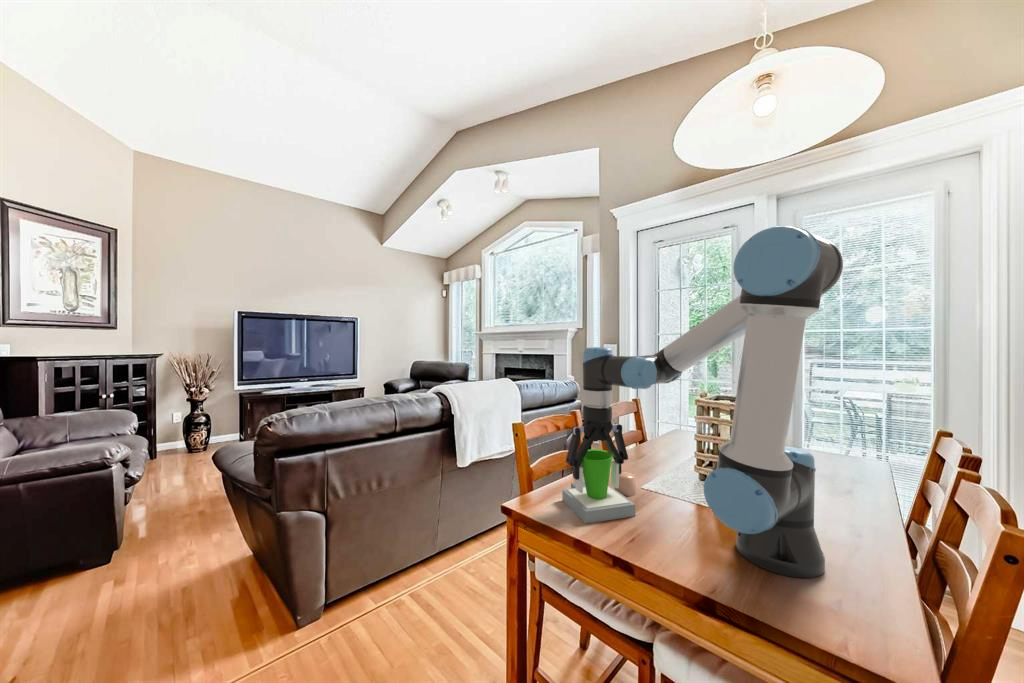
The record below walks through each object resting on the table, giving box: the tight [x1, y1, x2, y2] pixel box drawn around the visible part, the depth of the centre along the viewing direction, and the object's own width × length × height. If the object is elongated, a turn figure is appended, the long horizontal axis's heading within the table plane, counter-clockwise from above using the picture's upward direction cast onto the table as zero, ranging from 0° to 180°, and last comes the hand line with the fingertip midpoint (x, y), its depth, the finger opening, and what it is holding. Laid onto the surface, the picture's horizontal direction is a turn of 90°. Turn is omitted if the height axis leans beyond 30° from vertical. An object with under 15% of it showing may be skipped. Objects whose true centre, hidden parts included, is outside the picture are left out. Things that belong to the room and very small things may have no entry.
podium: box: [561, 484, 636, 524], centre depth 103 cm, size 14×14×3 cm
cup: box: [580, 448, 613, 499], centre depth 103 cm, size 9×9×11 cm
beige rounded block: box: [614, 471, 637, 497], centre depth 113 cm, size 6×6×5 cm
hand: (597, 488), depth 103 cm, fingers open, 10 cm apart
